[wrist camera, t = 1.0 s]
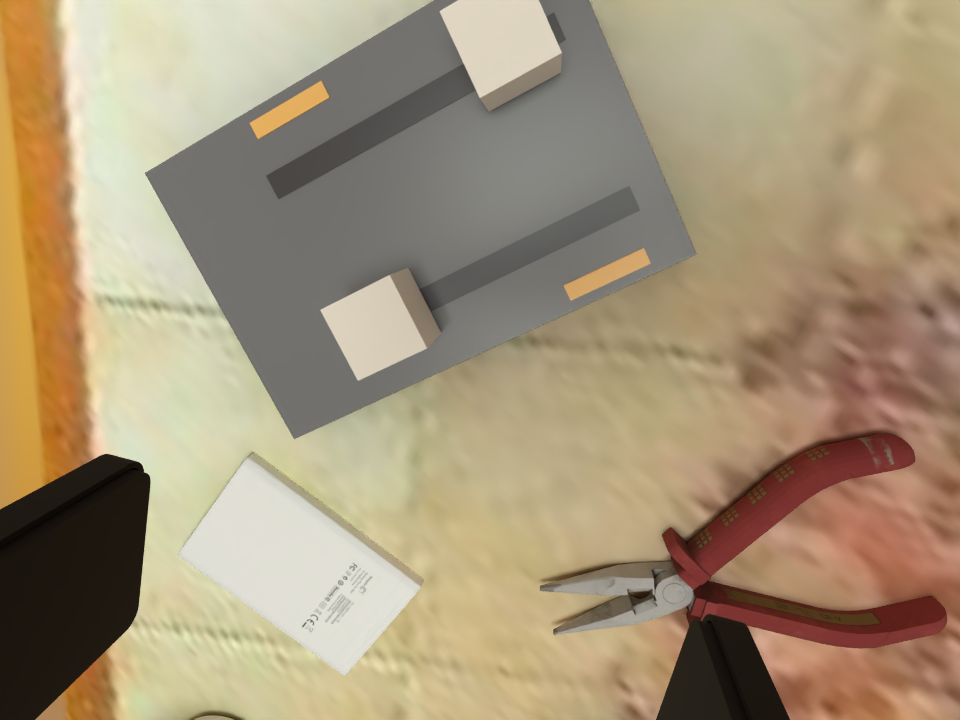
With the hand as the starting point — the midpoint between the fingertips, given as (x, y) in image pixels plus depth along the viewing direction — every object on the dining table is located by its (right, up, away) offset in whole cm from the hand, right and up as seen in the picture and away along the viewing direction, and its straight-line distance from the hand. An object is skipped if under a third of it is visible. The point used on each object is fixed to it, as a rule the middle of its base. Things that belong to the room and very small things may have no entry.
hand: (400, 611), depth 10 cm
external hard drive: (-9, -8, +28) cm, 31 cm away
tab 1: (-3, +6, +20) cm, 21 cm away
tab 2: (+2, +17, +17) cm, 24 cm away
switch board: (-2, +12, +22) cm, 25 cm away
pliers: (+15, -5, +24) cm, 29 cm away
